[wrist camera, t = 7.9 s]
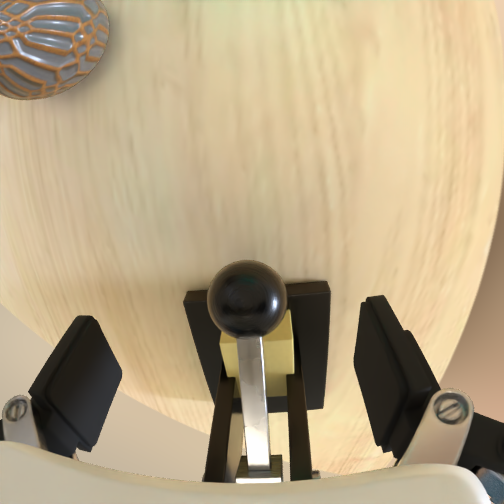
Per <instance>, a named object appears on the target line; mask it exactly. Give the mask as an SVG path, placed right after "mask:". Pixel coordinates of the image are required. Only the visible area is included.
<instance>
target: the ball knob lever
mask: <svg viewBox="0 0 504 504" xmlns="http://www.w3.org/2000/svg"><path fill="white" fill-rule="evenodd" d="M287 304H288V296H287V290H286V287H285V285H284V282H283V280H282V279H281V277H280V276H279V275H278V273H277V272H276V271H275V270H273V269H272V268H271V267H269V266H268V265H266V264H264V263H261V262H258V261H254V260H241V261H236V262H233V263H231V264H229V265H227V266H225V267H224V268H223V269H221V270H220V271H219V272H218V273H217V274H216V276H215V277H214V278H213V280H212V282H211V284H210V286H209V289H208V294H207V306H208V311H209V314H210V316H211V318H212V320H213V322H214V323H215V325H216V326H217V327H218V328H219V329H220V330H221V331H222V332H224V333H225V334H227V335H229V336H231V337H233V338H236V340H237V353H238V366H239V378H240V390H241V401H242V413H243V424H244V435H245V445H246V454H247V456H241V458H240V462H239V465H238V469H237V473H236V476H235V483H274V482H283V465H282V464H283V463H282V455H271V450H270V435H269V420H268V404H267V390H266V375H265V360H264V346H263V337H264V336H266V335H268V334H270V333H271V332H272V331H274V330H275V329H276V328H277V327H278V325H279V324H280V323H281V321H282V320H283V318H284V316H285V313H286V310H287Z"/></svg>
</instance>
